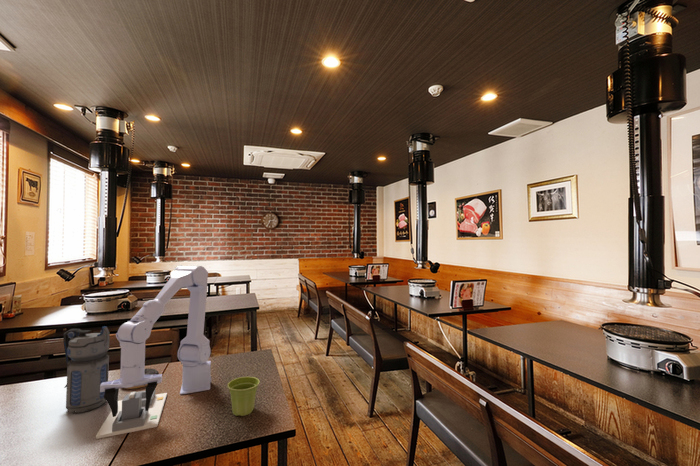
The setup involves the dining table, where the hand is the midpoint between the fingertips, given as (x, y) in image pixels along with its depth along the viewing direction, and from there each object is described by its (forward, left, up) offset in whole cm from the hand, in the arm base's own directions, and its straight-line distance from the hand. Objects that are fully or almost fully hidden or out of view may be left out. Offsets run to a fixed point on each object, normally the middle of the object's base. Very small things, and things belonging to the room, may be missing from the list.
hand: (131, 412), depth 89 cm
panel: (0, -6, -4) cm, 7 cm away
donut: (+3, -31, -4) cm, 31 cm away
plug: (0, 0, -3) cm, 3 cm away
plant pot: (-30, +5, -4) cm, 31 cm away
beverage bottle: (+16, -18, -4) cm, 24 cm away
